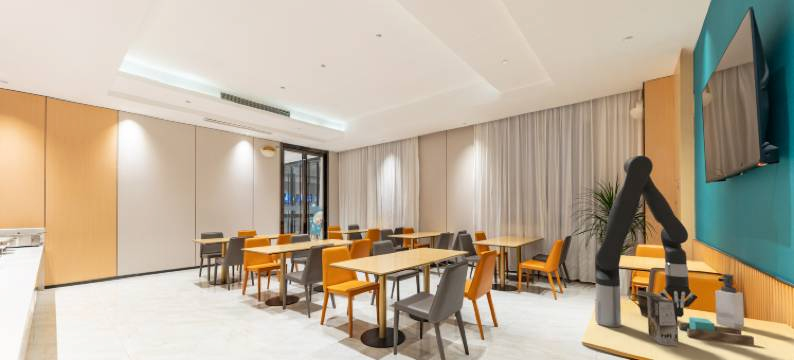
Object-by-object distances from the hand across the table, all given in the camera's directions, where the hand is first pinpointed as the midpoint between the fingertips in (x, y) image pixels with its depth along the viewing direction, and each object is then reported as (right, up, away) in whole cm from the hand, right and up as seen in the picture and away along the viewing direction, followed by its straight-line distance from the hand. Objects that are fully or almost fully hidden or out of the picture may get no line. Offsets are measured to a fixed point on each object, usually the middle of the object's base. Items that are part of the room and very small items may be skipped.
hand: (679, 316), depth 144 cm
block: (+7, -7, -3) cm, 10 cm away
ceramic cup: (+1, -8, +21) cm, 22 cm away
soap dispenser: (+28, -8, +8) cm, 31 cm away
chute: (+11, -7, -4) cm, 13 cm away
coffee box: (-13, -6, -9) cm, 17 cm away
